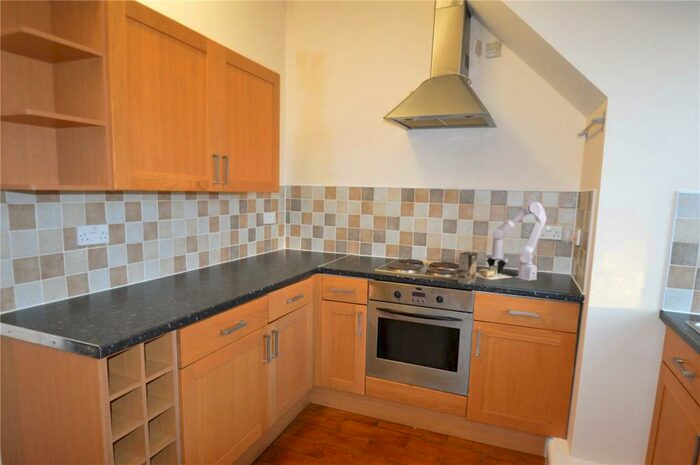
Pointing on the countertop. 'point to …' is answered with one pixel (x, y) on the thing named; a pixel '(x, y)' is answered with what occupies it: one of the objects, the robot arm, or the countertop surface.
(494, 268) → the green cube
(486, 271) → the beech base block
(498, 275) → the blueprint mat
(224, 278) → the countertop surface
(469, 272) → the coffee box
